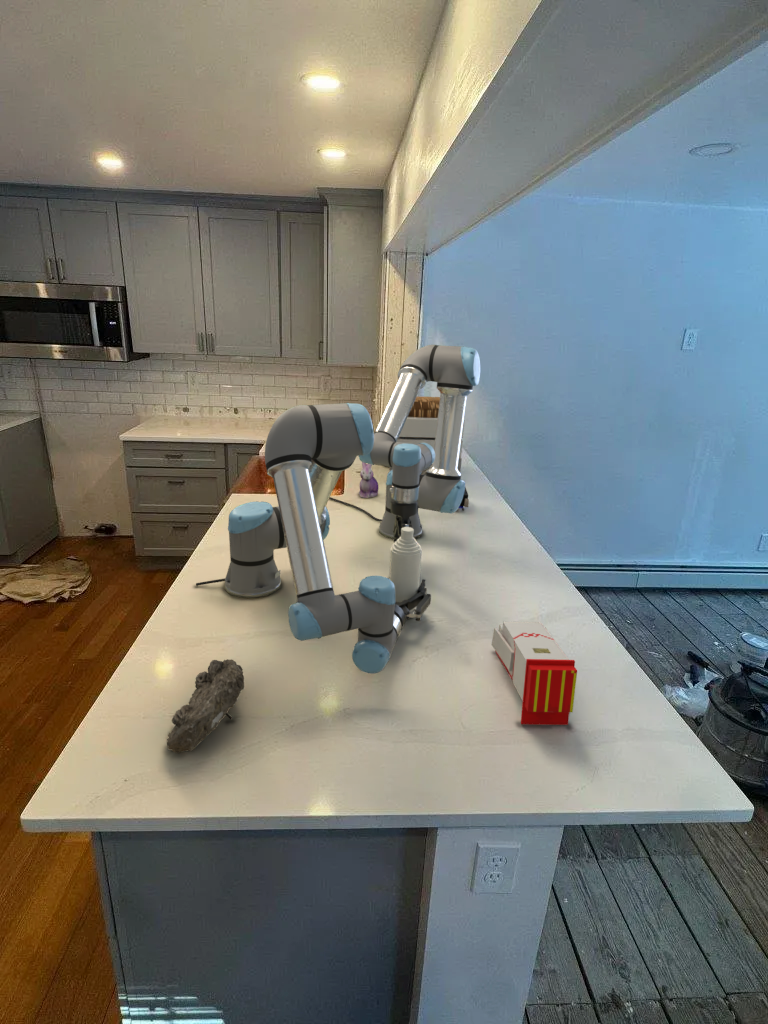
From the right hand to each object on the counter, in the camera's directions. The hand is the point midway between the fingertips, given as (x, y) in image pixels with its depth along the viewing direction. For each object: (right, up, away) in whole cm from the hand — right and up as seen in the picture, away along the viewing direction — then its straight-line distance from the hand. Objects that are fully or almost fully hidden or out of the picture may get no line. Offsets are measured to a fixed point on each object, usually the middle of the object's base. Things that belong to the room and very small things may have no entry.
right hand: (400, 568), depth 166 cm
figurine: (-11, +24, +74) cm, 78 cm away
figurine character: (+25, +19, +64) cm, 71 cm away
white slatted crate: (+12, +35, +109) cm, 115 cm away
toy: (+26, -20, -43) cm, 54 cm away
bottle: (0, -9, -17) cm, 19 cm away
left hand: (+2, -2, -14) cm, 15 cm away
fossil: (-38, -23, -58) cm, 72 cm away
